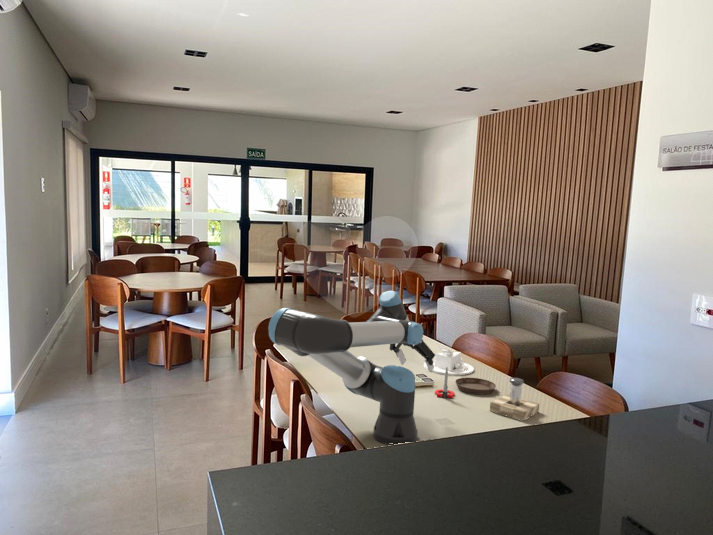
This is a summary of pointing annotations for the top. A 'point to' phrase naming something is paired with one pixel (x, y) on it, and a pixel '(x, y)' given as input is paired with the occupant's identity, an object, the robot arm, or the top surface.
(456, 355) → the dish
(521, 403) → the oak hitch block
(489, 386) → the plant saucer
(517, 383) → the steel pin
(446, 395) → the tow hook
